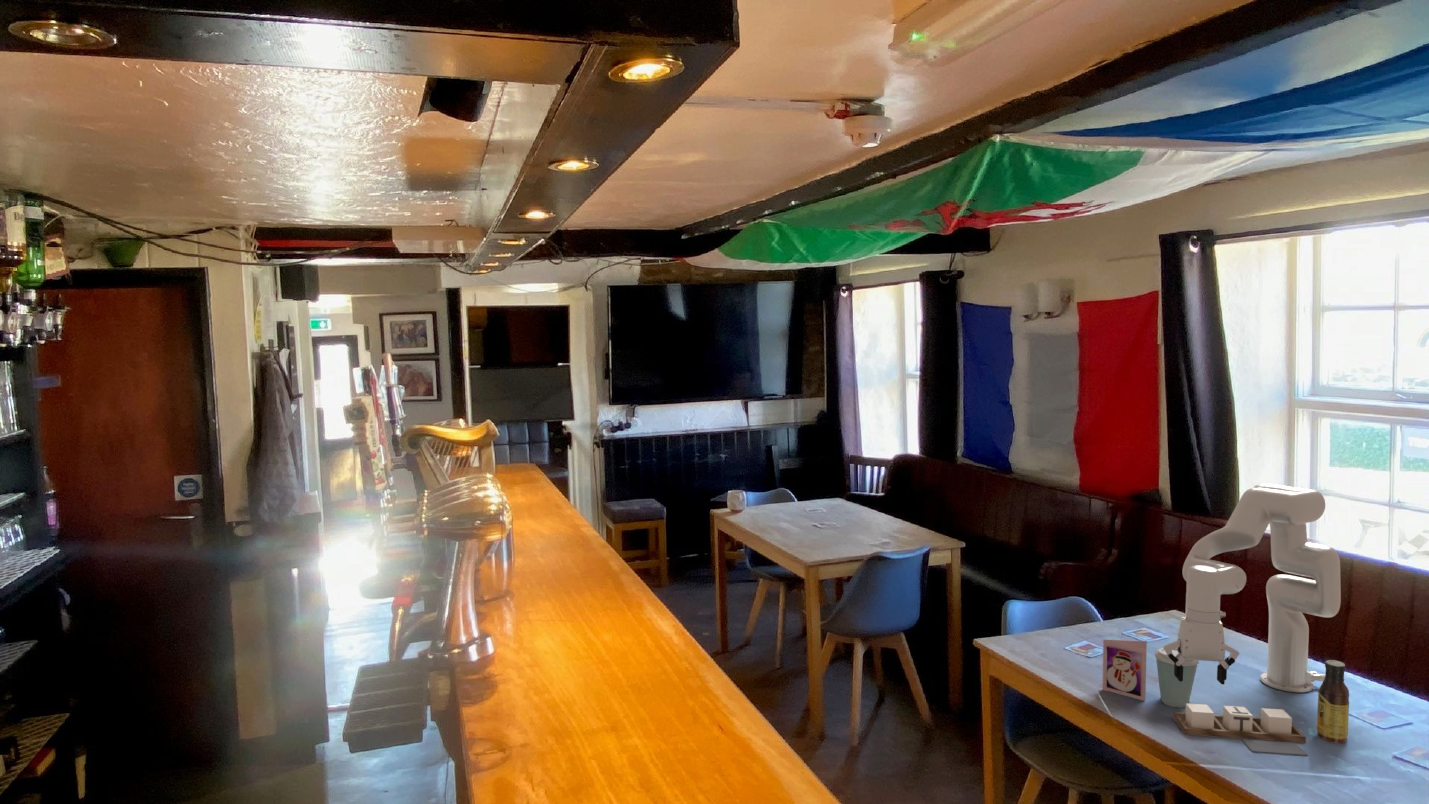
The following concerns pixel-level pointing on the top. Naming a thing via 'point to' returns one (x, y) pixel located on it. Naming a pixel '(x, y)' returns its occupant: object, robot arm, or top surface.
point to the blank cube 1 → (1199, 716)
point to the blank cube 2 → (1275, 721)
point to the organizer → (1223, 732)
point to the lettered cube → (1237, 718)
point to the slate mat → (1274, 747)
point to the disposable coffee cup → (1174, 679)
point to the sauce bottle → (1333, 704)
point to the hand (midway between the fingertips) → (1199, 680)
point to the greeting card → (1125, 667)
